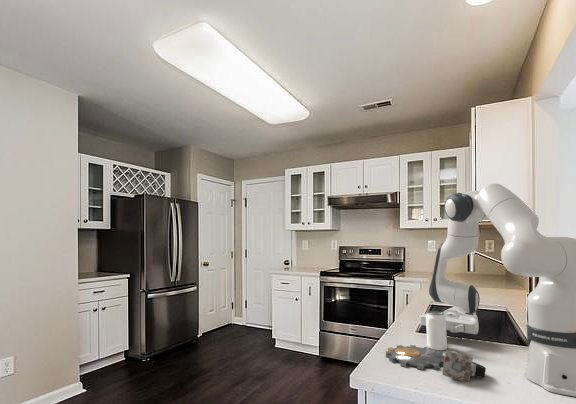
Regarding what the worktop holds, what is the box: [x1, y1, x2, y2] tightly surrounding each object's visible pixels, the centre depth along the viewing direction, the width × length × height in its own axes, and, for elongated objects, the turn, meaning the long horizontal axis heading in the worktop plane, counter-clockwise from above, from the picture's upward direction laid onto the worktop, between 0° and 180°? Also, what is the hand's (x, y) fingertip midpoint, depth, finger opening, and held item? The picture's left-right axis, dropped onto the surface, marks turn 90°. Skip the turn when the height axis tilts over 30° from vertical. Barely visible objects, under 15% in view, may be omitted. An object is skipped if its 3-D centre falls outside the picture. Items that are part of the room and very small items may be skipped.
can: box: [425, 310, 448, 352], centre depth 122 cm, size 6×6×12 cm
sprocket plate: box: [385, 344, 445, 371], centre depth 112 cm, size 19×19×1 cm
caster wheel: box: [441, 349, 487, 383], centre depth 98 cm, size 7×11×10 cm
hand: (440, 327), depth 125 cm, fingers open, 8 cm apart
